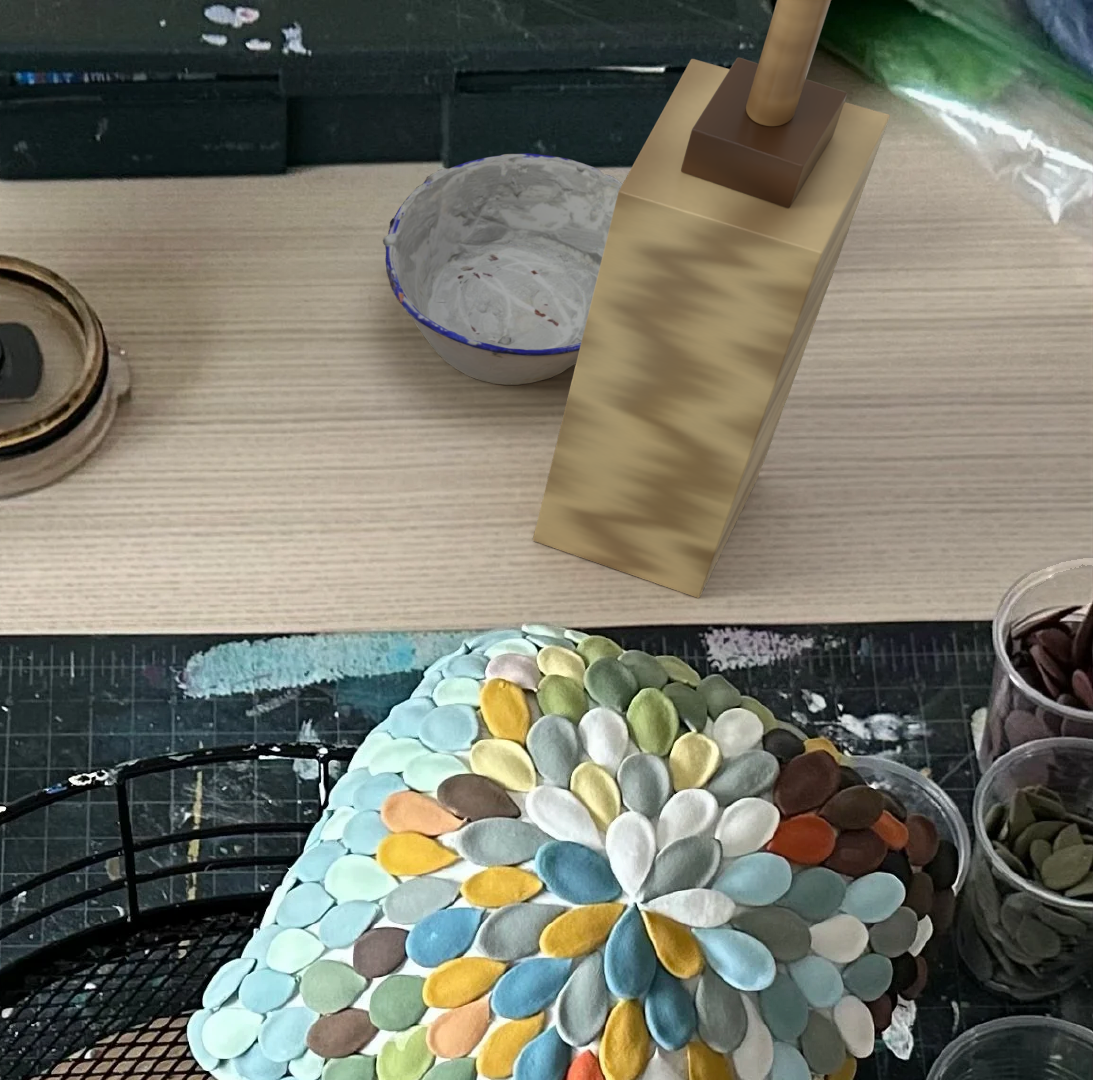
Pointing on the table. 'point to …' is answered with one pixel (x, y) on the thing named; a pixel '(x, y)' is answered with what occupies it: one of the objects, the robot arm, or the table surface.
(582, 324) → the bowl
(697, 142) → the wooden stamp
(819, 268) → the stand
